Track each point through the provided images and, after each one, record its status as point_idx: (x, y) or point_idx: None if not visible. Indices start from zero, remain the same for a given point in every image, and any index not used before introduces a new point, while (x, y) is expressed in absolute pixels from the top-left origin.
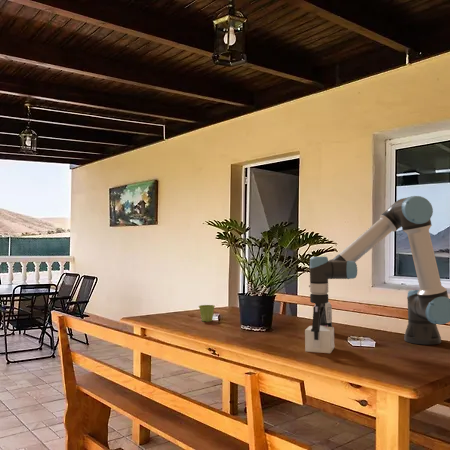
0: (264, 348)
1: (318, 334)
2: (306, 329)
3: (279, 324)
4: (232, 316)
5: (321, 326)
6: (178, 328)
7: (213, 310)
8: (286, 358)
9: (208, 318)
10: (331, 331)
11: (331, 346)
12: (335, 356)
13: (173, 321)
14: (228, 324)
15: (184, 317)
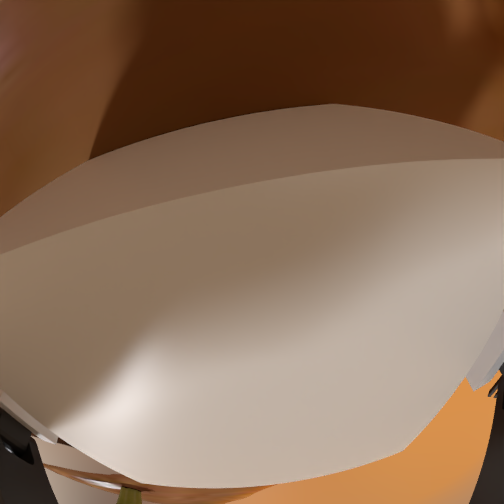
0: None
1: None
2: (379, 458)
3: None
4: (68, 470)
5: (66, 438)
6: (217, 498)
7: (119, 502)
8: None
9: (134, 494)
10: (254, 159)
11: (260, 115)
12: (412, 47)
13: (176, 500)
14: (119, 479)
15: None
